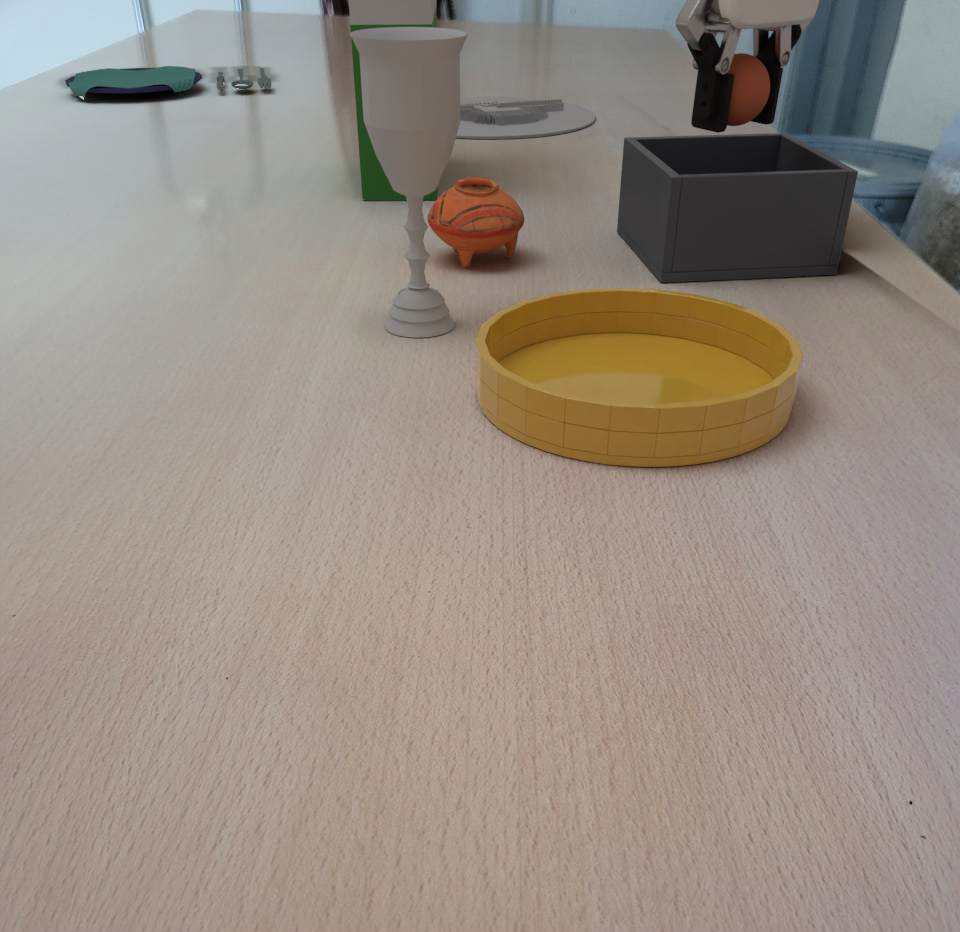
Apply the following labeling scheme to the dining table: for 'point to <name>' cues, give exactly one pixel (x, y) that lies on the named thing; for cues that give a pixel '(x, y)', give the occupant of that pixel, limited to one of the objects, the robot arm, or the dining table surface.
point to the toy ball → (747, 89)
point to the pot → (476, 218)
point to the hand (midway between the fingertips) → (732, 122)
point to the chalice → (412, 143)
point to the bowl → (636, 376)
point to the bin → (733, 206)
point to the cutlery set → (148, 80)
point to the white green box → (370, 7)
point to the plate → (519, 118)
